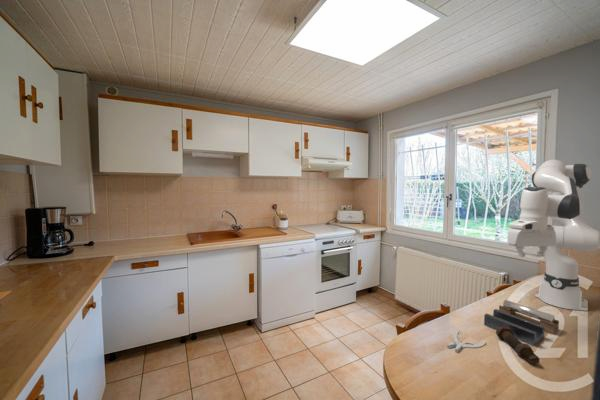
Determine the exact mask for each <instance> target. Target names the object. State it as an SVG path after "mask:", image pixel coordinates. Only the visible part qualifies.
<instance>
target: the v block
mask: <svg viewBox="0 0 600 400" xmlns="http://www.w3.org/2000/svg"><path fill="white" fill-rule="evenodd" d="M483 315H484V321H483V322H484V323H483V325H484V326H485V327H488V328H491V329H492V330H495V331H496V330H497V329H498V328H499V327H501V326H506V327H509V328H510V329H511V330H512V332H513V334H514V337H516V338H517V339H518V340H519V341H520V342H523V343H524V344H528V345H529V346H530V345H531V347H535V346H536V345H537V344H538V343H540V342H541V341H542V340H543V339H545V331H544V330H545V327H544V326H542V325H539V324H536V323H533V322H531V321H528V320H525V319H522V318H519V317H517V316H514V315H511V314H508V313H506V312H503V311H500V310H499V309H497V308H494V309H493V314H489V313H485V314H483Z"/></svg>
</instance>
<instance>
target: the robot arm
mask: <svg viewBox="0 0 600 400" xmlns="http://www.w3.org/2000/svg"><path fill="white" fill-rule="evenodd" d="M591 177H592V170H591V168H589V166H588V165H586V164H585V163H574V164H568V165H566V163H564V162H563V161H562V160H559V159H548V160H546V161H544V162H543V163H542V164H540V165H539V167H538V168H537V170H536V171H534V172H533V173H532V174H531V178H530V179H531V183H532V185H533V186H528V187H525V188H523V189H522V192H521V196H520V200H519V210H520V214H519V219H516V220H514V221H510V222H509V223H508V228H509V229H508V232H507V244H508V245H509V246H510V247H511V246H512V247H515V249H516V251H517V256H518V257H521V258H525V257H526V252H524V248H525V247H530V248H531V247H538V249H539V250H538V251H537V252H536V256H537V257H543V258H545V259H544V260H545V272H544V273H543V280H542V281H540V283H539V289H538V293H534V296H535V298H537V299H540V301H542V302H544V303H546V304H549V305H551V306H555V307H556V308H557V307H558V308H561V309H567V310H575V311H584V312H588V311H589V301H588V300H587V299H586V298H583V296H582V293H583V292H582V289H581V288H580V280H579V279H580V278H579V263H578V261H577V260H576V259H575V258H573V257H572V256H569V255H567V254H565V253H563V252H562V251H561V249H563V250H565V249H566V250H574V251H575V250H576V251H580V252H581V251H582V252H583V251H584V252H586V251H590V252H591V251H595V252H596V251H598V250H600V231H599V230H597V229H595V228H592V226H589V225H588V224H587V222H585V221H584V219H583V218H582V214H581V213H582V210H583V203H582V201H581V199H580V195H579V194H580V193H579V191H578V189H577V188H579V189H581V188H584V185H587V184H588V183H589V181H590V180H591ZM548 192H551V194H549V193H548ZM548 218H550V219H551V221H554V222H555V223H557V224H560V225H552V224H548V222H549V221H548Z"/></svg>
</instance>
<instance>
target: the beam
mask: <svg viewBox="0 0 600 400" xmlns="http://www.w3.org/2000/svg"><path fill="white" fill-rule="evenodd" d="M498 310H500V311H503V312H506V313H508V314H511V315H514V316H517V317H519V318H522V319H525V320H528V321H531V322H533V323H536V324H539V325H542V326H544V327H545V330H544V333H547V334H551V335H555V334H556V333H557V332H559V329H560V328H559V327H560V320H558V319H555V320H554V323H550V322H547V321H544V320H538V319H536V318H533V317H530V316H527V315H524V314H521V313H520V314H519V312H516V311H513V310H511V309H509V308H506V307H503V305H501V304H500V305H498Z"/></svg>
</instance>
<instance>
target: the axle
mask: <svg viewBox="0 0 600 400" xmlns="http://www.w3.org/2000/svg"><path fill="white" fill-rule="evenodd" d="M502 306H503V307H506V308H509V309H511V310H513V311H516V313H518V314H519V313H520V314H521V315H523V316H526V317H529V318H532V319H535V320H538V321H540V320H544V321H547V322H550V323H554V320H556V318H555V315H553V314H551V313H547V312H545V311H544V312H543V311H541V310H538V309H535V308H532V307H529V306H526V305H522V304H519V303H516V302H514V301H510V300H507V299H504V301H503V303H502Z"/></svg>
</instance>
